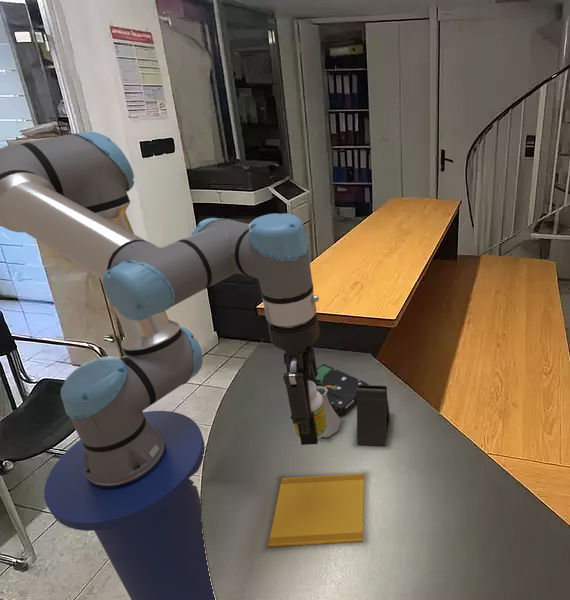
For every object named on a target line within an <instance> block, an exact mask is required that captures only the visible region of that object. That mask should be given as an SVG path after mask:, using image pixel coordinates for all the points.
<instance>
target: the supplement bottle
mask: <svg viewBox="0 0 570 600" xmlns="http://www.w3.org/2000/svg"><path fill="white" fill-rule="evenodd" d="M308 384H309V394H310V404H311V412H313V414H314V420H315V426H316V432H317V438H318V440H319V439H321V438H323V437H322V436H323V435H324V434H325V432H326V430H327V424H326V417H325V411H324V404H323V398H322V395H321V394H320V393H319V392H318V391H317V388H316V384H315V383H314V382H313V381H310V380H308ZM293 425H294V430H295V434H296V436H297V437H298V438H299V439H300V435H299V429H298V424H293Z"/></svg>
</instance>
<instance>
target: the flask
mask: <svg viewBox="0 0 570 600" xmlns="http://www.w3.org/2000/svg"><path fill="white" fill-rule="evenodd" d="M316 388H317V389H318V392H319V393H320V394H321V395H322V398H323V404H324V411H325V417H326V424H327V430H326V432H325V434H324V435H323V436H322V437H321V438H329V437H331V436H332V435H334V434H336V433H337V432H338V431H340V427H341V423H342V419H341V418H340V417H339V414H337V413H336V412H335V411H334V409H333V408H332V406H331V405H330V403H329V401H328V398H327V391H328V389H326V388H325V387H316Z"/></svg>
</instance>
